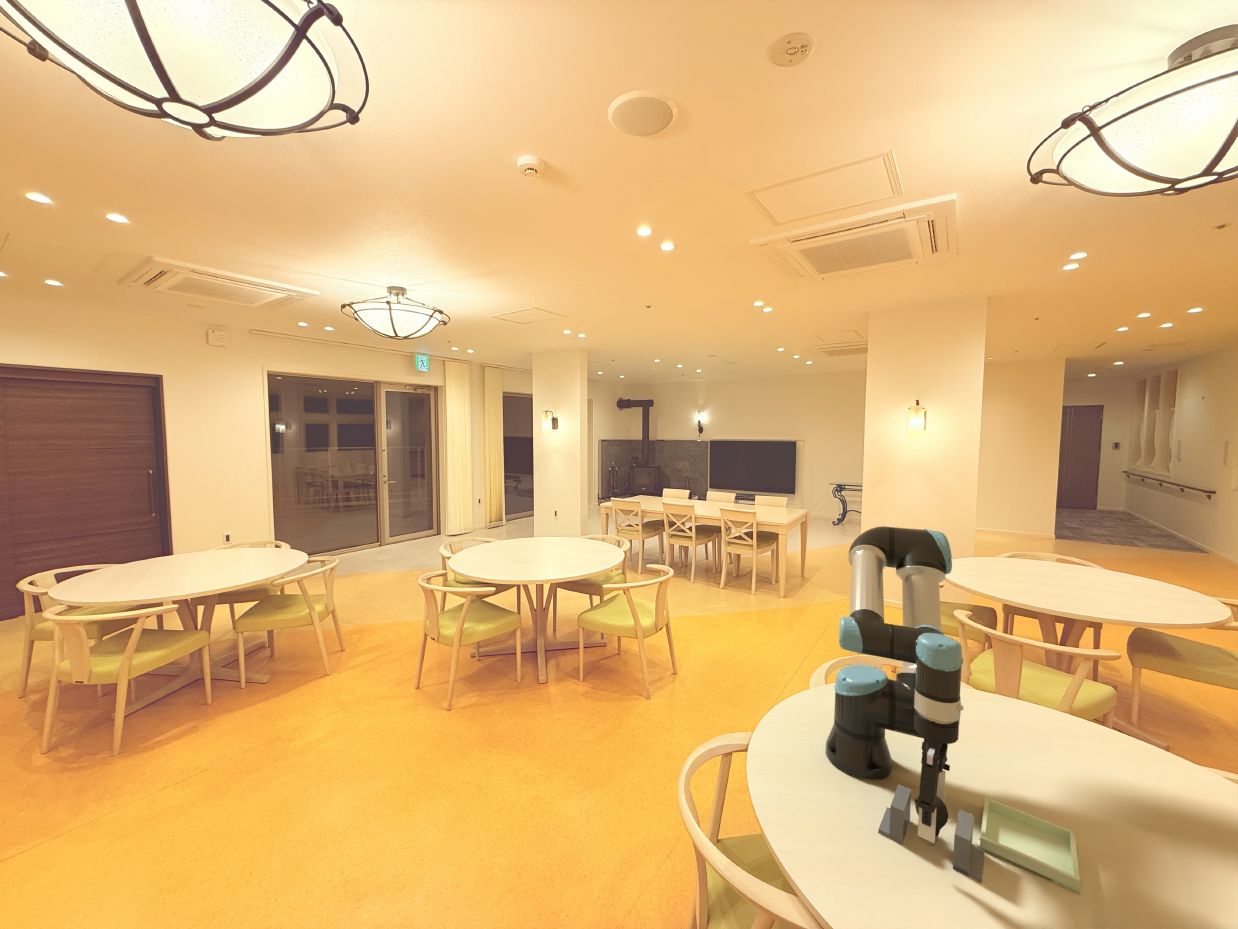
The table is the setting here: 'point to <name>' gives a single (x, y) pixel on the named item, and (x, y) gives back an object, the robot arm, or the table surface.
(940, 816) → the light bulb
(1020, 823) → the tray
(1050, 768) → the table surface
